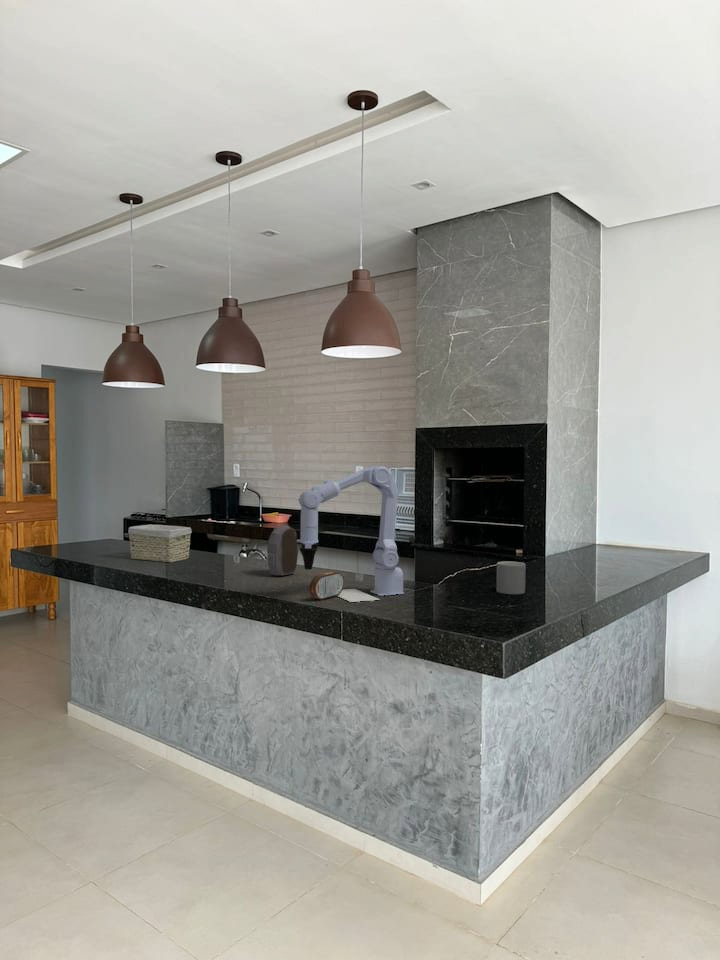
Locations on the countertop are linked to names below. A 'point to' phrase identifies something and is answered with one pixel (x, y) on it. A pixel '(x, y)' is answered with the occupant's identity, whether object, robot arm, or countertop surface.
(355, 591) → the grey mat
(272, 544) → the soft grey pack
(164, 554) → the storage basket
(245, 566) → the countertop surface
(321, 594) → the tin
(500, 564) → the coffee mug
